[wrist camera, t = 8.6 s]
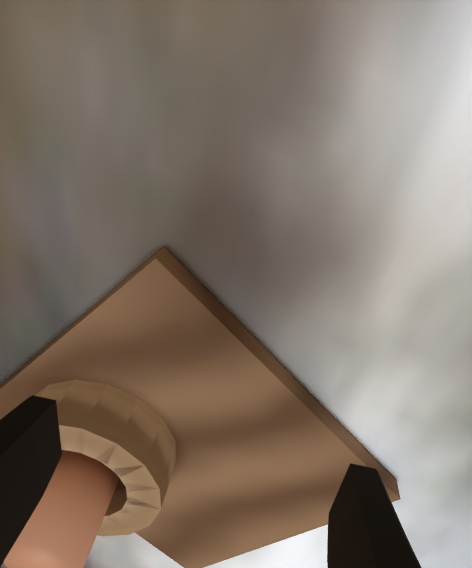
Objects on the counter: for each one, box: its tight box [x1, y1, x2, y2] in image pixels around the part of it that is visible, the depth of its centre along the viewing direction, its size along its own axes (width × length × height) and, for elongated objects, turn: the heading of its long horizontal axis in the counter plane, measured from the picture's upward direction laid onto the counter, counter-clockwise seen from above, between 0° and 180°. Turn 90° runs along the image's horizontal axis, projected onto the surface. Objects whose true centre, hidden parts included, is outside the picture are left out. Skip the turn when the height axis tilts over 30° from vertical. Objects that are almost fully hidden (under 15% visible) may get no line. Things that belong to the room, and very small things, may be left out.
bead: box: [34, 380, 176, 536], centre depth 24 cm, size 9×9×3 cm
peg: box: [4, 450, 120, 568], centre depth 22 cm, size 4×4×7 cm
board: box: [0, 247, 400, 568], centre depth 26 cm, size 19×17×1 cm
